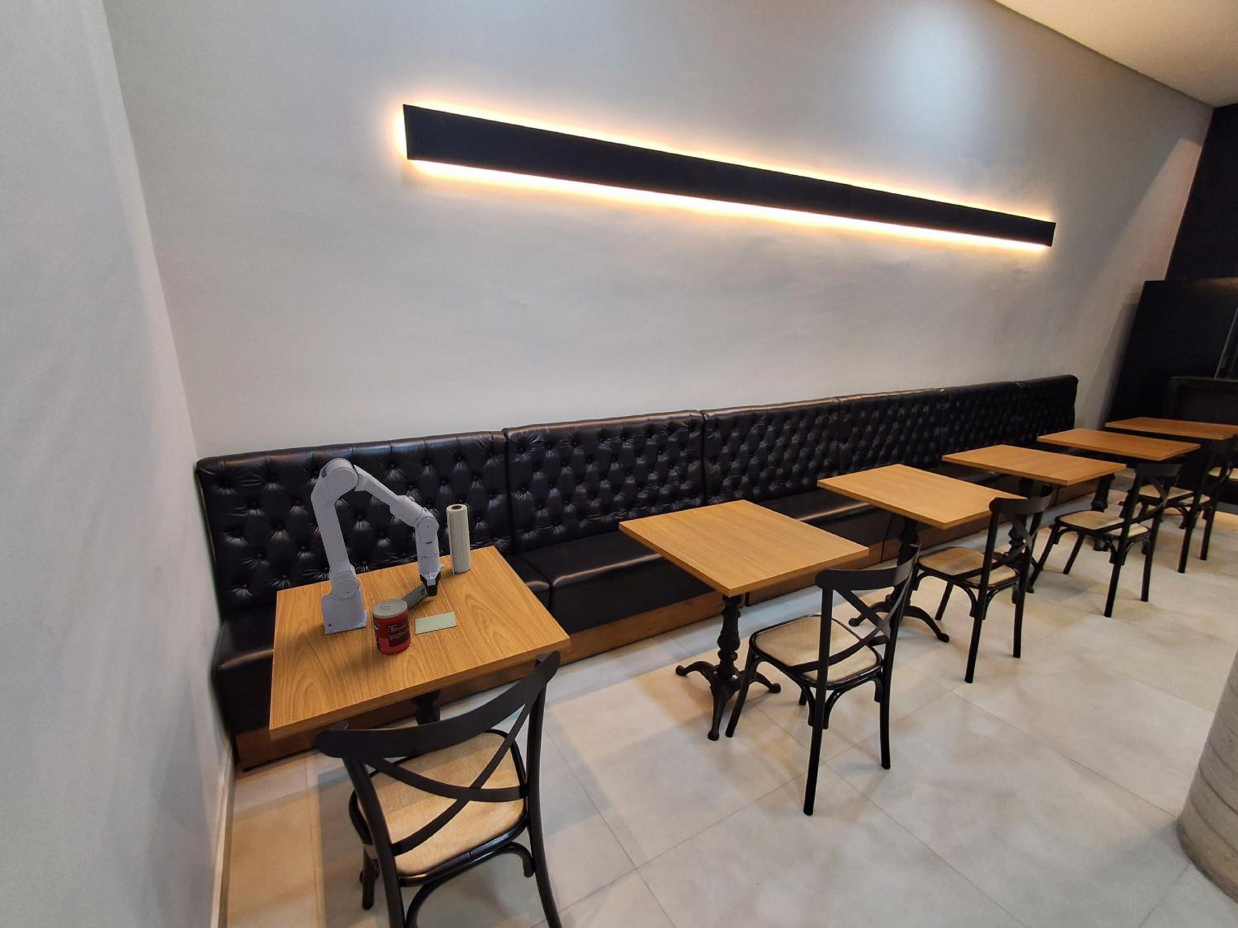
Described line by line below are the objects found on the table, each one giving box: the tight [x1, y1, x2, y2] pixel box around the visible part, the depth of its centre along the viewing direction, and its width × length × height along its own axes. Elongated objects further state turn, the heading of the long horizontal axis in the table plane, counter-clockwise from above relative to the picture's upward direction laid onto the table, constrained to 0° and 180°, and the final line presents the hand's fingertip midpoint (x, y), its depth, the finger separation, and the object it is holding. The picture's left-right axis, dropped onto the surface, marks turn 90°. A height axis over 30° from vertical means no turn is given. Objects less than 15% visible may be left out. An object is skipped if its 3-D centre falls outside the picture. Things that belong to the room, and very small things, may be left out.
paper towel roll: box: [445, 503, 472, 576], centre depth 160 cm, size 7×6×21 cm
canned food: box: [371, 598, 412, 656], centre depth 124 cm, size 8×8×11 cm
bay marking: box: [414, 611, 457, 635], centre depth 135 cm, size 10×7×1 cm
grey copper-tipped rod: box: [400, 582, 428, 610], centre depth 142 cm, size 18×3×3 cm, turn 162°
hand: (432, 595), depth 146 cm, fingers closed
